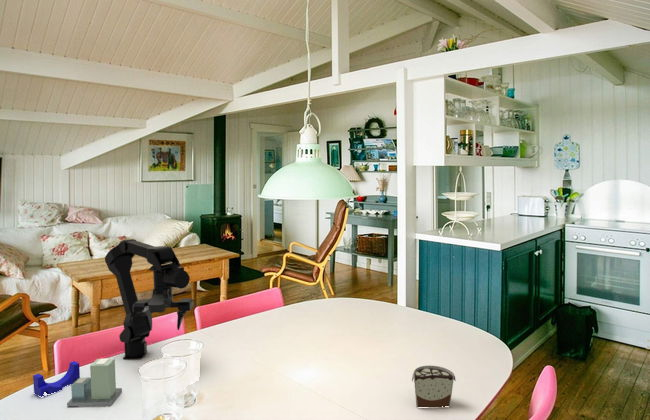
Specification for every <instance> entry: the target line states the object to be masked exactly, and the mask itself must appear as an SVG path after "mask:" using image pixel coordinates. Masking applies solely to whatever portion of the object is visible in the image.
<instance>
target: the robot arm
mask: <svg viewBox="0 0 650 420" xmlns="http://www.w3.org/2000/svg"><path fill="white" fill-rule="evenodd" d="M135 256H138V257H141V258H144V259H146V262H147V263H148V264H150V265H151V266H150V268H149V269H148V270H149V271H150V272H151V271H152V272H153V274H152V277H153V279H152V280H153V289H152V295H151V297H150V299H149V298H148V299H145V298H144V299H141V298H140V299H138V296H137V292H136V289H135V285H134V281H133V277H132V274H131V270H132V266H133V264H134V263H133V259H134V257H135ZM104 261H105V264H106V266H107V268H108V271H109V272H110V273H112V274H113V275H114V276H115V279H116V283H117V287H118V289H119V294H120V298H121V302H122V304H123V308H124V312H125V317H124V319H123V320H124V321H123V323H122V324H123V330H121V332H120V334H119V336H118V337H119V341H120V342H121V343H124V355H123V357H122V359H123V360H141V359H143V358H144V356H145V355H147V353H148V342H147V341H146V338H148V337H150V333H151V331H152V330H153V314H154V313H161V314H162V313H164V312H165V311H166V309H169V308H177V311H176V313H177V314H176V315H177V324H176V328H177V331H179V330H181V325H182V322H183V319H184V317H185V314H186V313H188V311H191V310H192V308H193V307H194V306H195V304H194V303H195V302H194V299H193V298H191V297H190V298H189V297H188V298H181V299H180V300H178V301H174V296H173V288H176V289H181V290H182V289H185V288H186V287H187V286H188V285H189V282H190V278H191V277H190V274H189V273H188V271H185V267H184V266H181V263H180V260H179V259H178V257H177V255H176V254H175V252H174V250H173V248H172V247H171V246H169V245H167V246H166V245H162V246H161V245H160V246H156V245H155V246H154V245H150V244H147V243H144V242H141V241H138V240H136V239H133V238H130V239H124V240H123V239H122V241H120V242H119V243H118V244H117V245H116V246H114V247H113V248H111V249H110V250H109V251H108V252H107V254H106V255H105V257H104Z"/></svg>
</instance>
